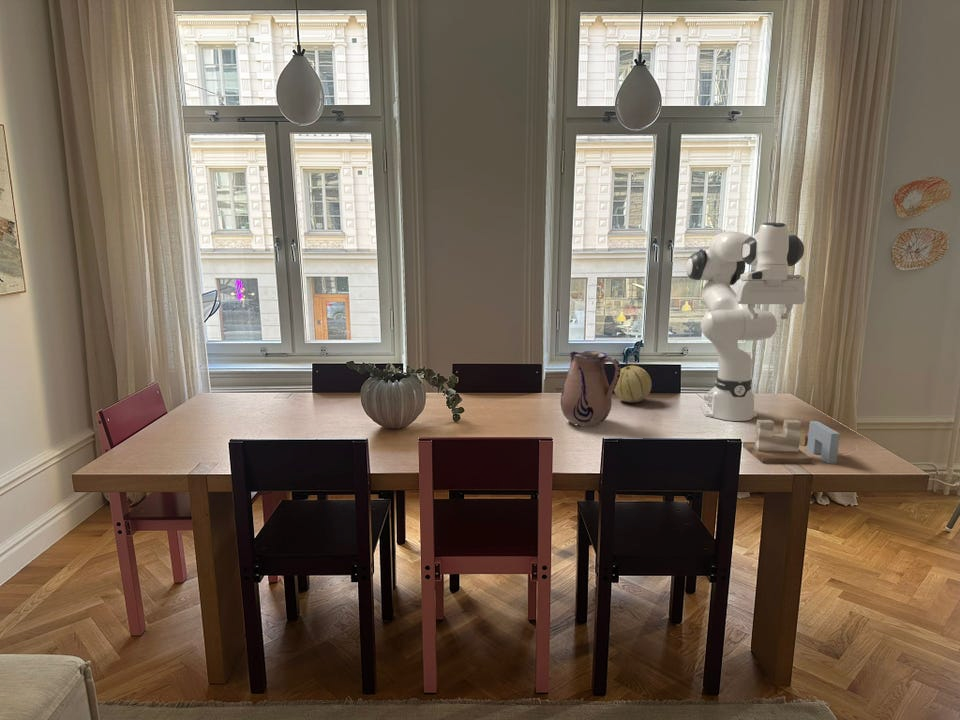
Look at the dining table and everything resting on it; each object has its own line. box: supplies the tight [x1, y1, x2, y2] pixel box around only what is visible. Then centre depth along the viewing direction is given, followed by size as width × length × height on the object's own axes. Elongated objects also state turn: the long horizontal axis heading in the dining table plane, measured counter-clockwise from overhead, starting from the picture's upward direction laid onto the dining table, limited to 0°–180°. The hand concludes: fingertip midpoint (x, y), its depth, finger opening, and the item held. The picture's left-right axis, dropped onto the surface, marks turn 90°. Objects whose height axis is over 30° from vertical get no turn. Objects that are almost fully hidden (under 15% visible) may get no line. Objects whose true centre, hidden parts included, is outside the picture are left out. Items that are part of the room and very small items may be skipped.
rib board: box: [742, 419, 813, 464], centre depth 182 cm, size 14×14×10 cm
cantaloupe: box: [613, 365, 652, 403], centre depth 239 cm, size 15×15×15 cm
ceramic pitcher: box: [560, 350, 622, 427], centre depth 210 cm, size 18×21×25 cm
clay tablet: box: [773, 427, 806, 447], centre depth 198 cm, size 14×10×3 cm
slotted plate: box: [806, 420, 841, 464], centre depth 181 cm, size 12×2×9 cm, turn 179°
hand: (769, 319), depth 191 cm, fingers open, 8 cm apart
